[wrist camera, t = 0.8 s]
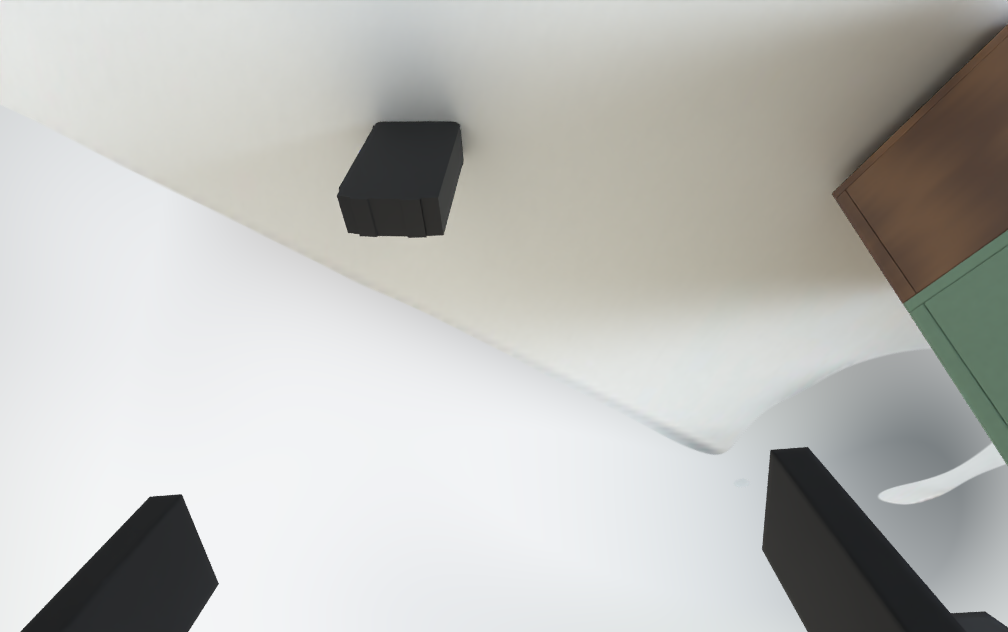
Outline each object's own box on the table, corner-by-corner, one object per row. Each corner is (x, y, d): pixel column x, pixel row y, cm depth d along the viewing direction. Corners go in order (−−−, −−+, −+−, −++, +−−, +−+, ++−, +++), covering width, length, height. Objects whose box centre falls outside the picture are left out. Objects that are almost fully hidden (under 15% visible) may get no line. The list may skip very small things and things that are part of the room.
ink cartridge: (383, 157, 32) (344, 238, 26) (375, 120, 30) (332, 198, 24) (464, 158, 31) (442, 240, 26) (461, 121, 30) (437, 200, 24)
